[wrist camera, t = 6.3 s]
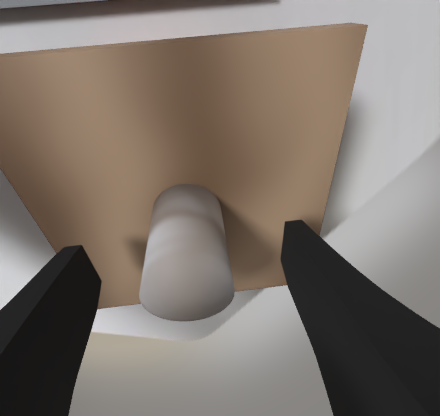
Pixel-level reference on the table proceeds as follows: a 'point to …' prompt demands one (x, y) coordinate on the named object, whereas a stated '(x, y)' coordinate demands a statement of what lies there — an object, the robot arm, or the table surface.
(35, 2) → the mat
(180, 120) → the cover board
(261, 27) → the table surface
